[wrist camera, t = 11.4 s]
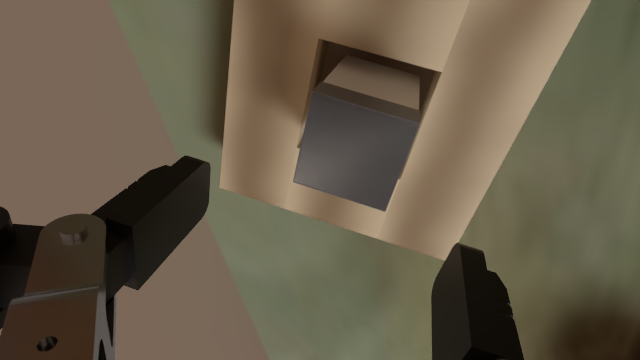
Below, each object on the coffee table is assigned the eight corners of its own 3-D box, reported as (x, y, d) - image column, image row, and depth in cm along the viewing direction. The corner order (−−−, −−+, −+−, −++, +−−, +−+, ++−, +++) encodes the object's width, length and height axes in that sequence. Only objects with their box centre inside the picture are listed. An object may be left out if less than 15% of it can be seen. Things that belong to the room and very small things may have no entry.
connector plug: (420, 75, 22) (420, 123, 15) (395, 143, 24) (385, 212, 17) (345, 53, 22) (312, 91, 15) (328, 123, 24) (292, 182, 18)
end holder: (564, -12, 19) (595, -8, 16) (444, 225, 27) (447, 261, 24) (271, -85, 20) (241, -95, 17) (243, 162, 29) (219, 187, 25)
